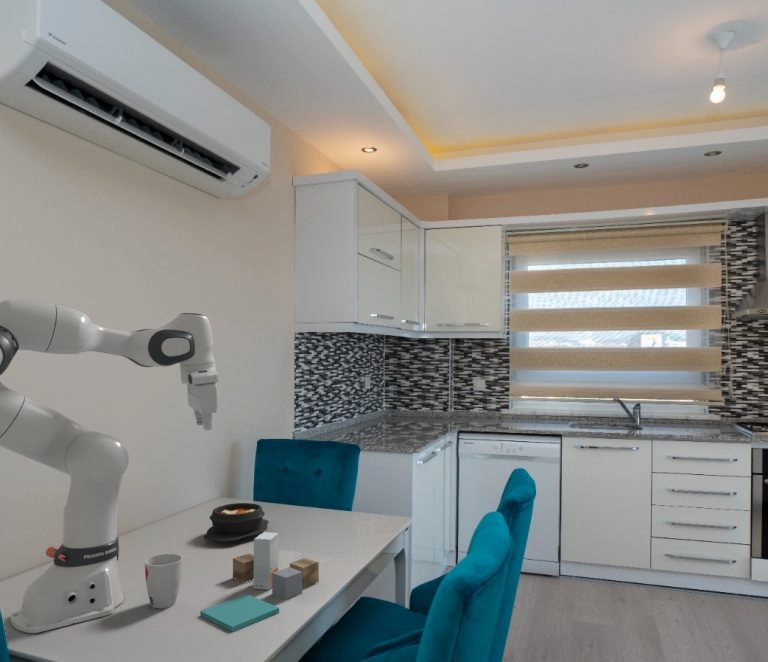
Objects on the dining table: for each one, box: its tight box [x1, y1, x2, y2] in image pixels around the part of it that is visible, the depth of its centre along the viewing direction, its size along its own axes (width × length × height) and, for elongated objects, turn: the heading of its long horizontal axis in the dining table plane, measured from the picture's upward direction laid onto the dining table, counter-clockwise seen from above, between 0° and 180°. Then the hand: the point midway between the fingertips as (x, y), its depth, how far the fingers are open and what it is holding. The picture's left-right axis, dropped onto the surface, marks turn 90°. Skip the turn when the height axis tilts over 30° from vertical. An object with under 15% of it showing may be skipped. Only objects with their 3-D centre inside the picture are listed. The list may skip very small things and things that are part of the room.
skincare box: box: [253, 531, 279, 591], centre depth 147 cm, size 6×4×12 cm
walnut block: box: [232, 553, 254, 583], centre depth 152 cm, size 5×5×5 cm
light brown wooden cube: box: [289, 557, 320, 589], centre depth 148 cm, size 5×5×5 cm
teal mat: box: [199, 593, 280, 633], centre depth 130 cm, size 12×12×1 cm
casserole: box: [203, 502, 270, 543], centre depth 189 cm, size 25×19×8 cm
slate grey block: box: [271, 566, 303, 600], centre depth 141 cm, size 5×5×5 cm
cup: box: [144, 553, 184, 610], centre depth 136 cm, size 8×8×10 cm
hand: (204, 427), depth 156 cm, fingers open, 8 cm apart
